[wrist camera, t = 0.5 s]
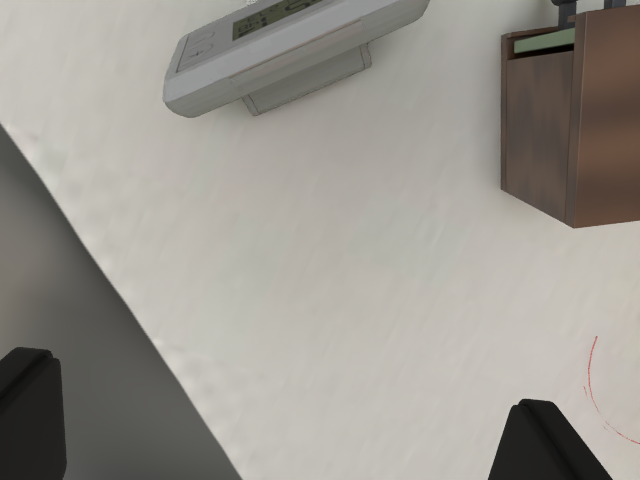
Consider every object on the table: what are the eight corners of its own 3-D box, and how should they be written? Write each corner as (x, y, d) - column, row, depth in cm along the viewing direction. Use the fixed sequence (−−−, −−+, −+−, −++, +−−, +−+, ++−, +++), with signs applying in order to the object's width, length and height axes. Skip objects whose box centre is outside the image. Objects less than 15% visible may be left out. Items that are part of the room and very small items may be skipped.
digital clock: (390, -49, 32) (426, -113, 22) (406, 84, 35) (445, 83, 24) (168, -2, 32) (102, -42, 22) (202, 125, 35) (157, 140, 25)
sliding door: (514, -8, 31) (582, -41, 23) (644, -26, 31) (758, -65, 23) (513, 53, 33) (578, 42, 25) (638, 36, 32) (744, 20, 24)
